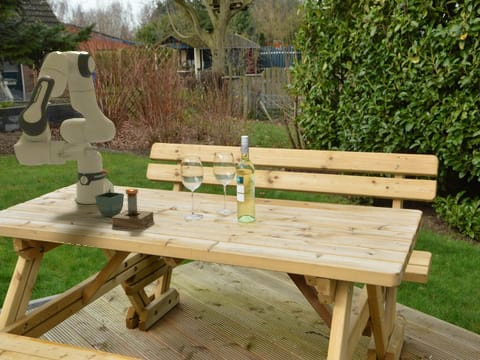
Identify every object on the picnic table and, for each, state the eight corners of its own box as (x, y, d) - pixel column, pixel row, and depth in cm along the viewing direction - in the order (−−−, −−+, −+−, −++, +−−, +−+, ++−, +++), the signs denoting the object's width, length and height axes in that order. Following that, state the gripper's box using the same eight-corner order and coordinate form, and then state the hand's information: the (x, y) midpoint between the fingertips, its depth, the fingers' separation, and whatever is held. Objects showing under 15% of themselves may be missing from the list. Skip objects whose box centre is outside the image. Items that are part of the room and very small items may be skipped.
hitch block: (127, 219, 222) (126, 209, 222) (153, 221, 219) (153, 211, 218) (112, 227, 211) (111, 217, 210) (139, 229, 208) (139, 219, 207)
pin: (130, 220, 218) (129, 188, 215) (141, 221, 217) (140, 189, 214) (124, 223, 213) (123, 190, 211) (135, 224, 212) (134, 191, 210)
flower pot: (95, 216, 227) (94, 195, 226) (109, 211, 235) (108, 191, 233) (111, 219, 223) (110, 197, 222) (125, 214, 231) (124, 193, 229)
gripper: (56, 148, 193) (96, 146, 196) (61, 141, 213) (97, 140, 216) (57, 165, 194) (97, 163, 197) (62, 156, 214) (98, 155, 217)
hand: (97, 151), depth 207 cm, fingers open, 8 cm apart
